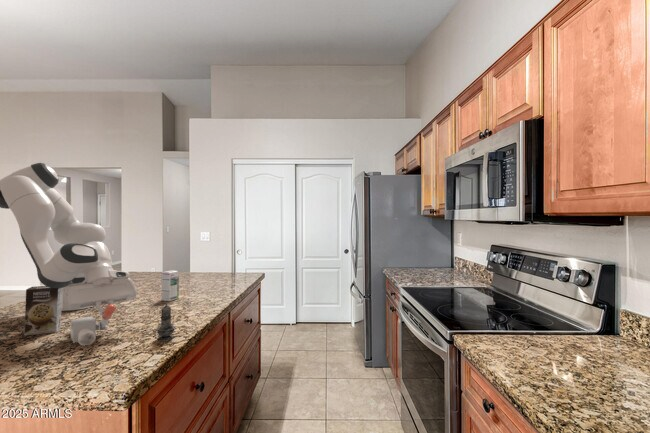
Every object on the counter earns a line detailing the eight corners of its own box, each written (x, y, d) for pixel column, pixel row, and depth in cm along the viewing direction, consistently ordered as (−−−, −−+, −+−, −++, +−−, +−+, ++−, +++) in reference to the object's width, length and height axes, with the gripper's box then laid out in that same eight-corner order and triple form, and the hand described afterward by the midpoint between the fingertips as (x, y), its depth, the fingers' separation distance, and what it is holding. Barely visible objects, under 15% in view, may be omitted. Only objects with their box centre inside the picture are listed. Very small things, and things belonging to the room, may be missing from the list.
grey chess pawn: (160, 335, 114) (161, 301, 114) (177, 335, 114) (178, 301, 114) (153, 341, 108) (153, 305, 108) (171, 341, 108) (171, 305, 109)
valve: (68, 333, 115) (69, 316, 115) (93, 328, 120) (93, 312, 120) (75, 348, 102) (75, 329, 102) (103, 342, 107) (103, 324, 107)
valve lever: (96, 324, 115) (106, 303, 104) (105, 322, 117) (115, 301, 106) (97, 332, 114) (106, 312, 103) (106, 330, 116) (116, 310, 105)
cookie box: (23, 336, 112) (24, 289, 112) (30, 330, 117) (31, 286, 118) (56, 332, 116) (57, 287, 116) (61, 326, 122) (62, 284, 122)
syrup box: (169, 301, 160) (170, 272, 161) (160, 300, 163) (161, 271, 163) (178, 298, 166) (179, 270, 166) (170, 297, 168) (170, 270, 168)
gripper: (64, 279, 108) (68, 315, 101) (133, 272, 122) (140, 303, 115) (63, 290, 111) (66, 325, 104) (130, 281, 125) (137, 312, 119)
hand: (106, 313), depth 110 cm, fingers closed, pressing on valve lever
